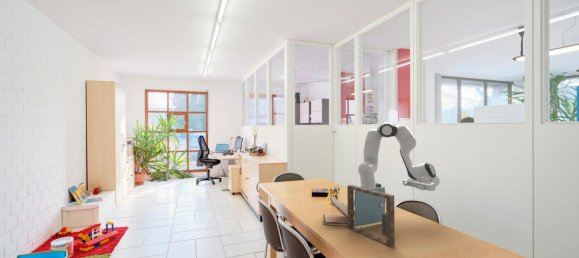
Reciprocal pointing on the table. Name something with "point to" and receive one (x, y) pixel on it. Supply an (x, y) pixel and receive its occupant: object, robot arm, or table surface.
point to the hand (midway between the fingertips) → (411, 185)
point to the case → (337, 218)
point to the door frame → (389, 214)
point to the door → (369, 207)
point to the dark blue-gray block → (384, 223)
